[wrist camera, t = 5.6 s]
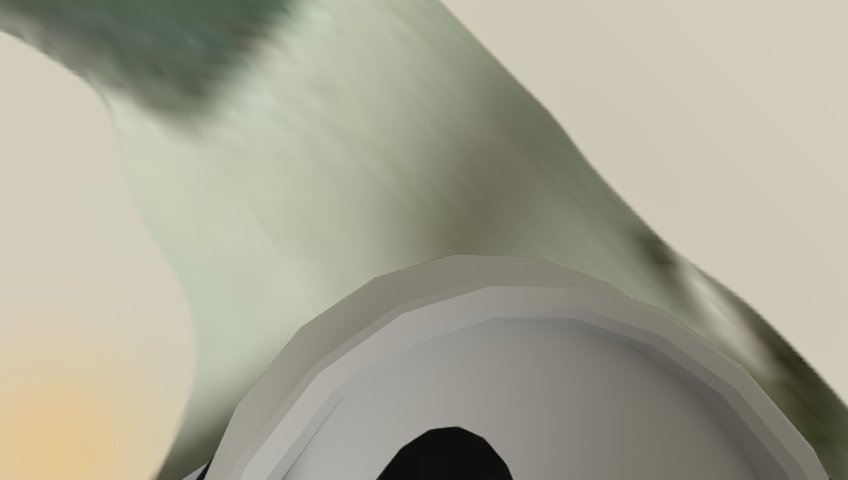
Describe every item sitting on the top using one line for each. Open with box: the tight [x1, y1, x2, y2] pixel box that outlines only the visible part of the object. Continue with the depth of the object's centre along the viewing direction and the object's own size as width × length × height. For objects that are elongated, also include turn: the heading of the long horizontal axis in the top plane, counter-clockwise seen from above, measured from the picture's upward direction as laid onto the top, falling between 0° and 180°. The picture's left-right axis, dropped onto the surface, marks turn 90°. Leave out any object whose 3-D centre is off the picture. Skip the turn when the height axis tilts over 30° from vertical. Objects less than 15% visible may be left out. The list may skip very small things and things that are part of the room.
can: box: [204, 255, 829, 480], centre depth 9 cm, size 8×8×12 cm
